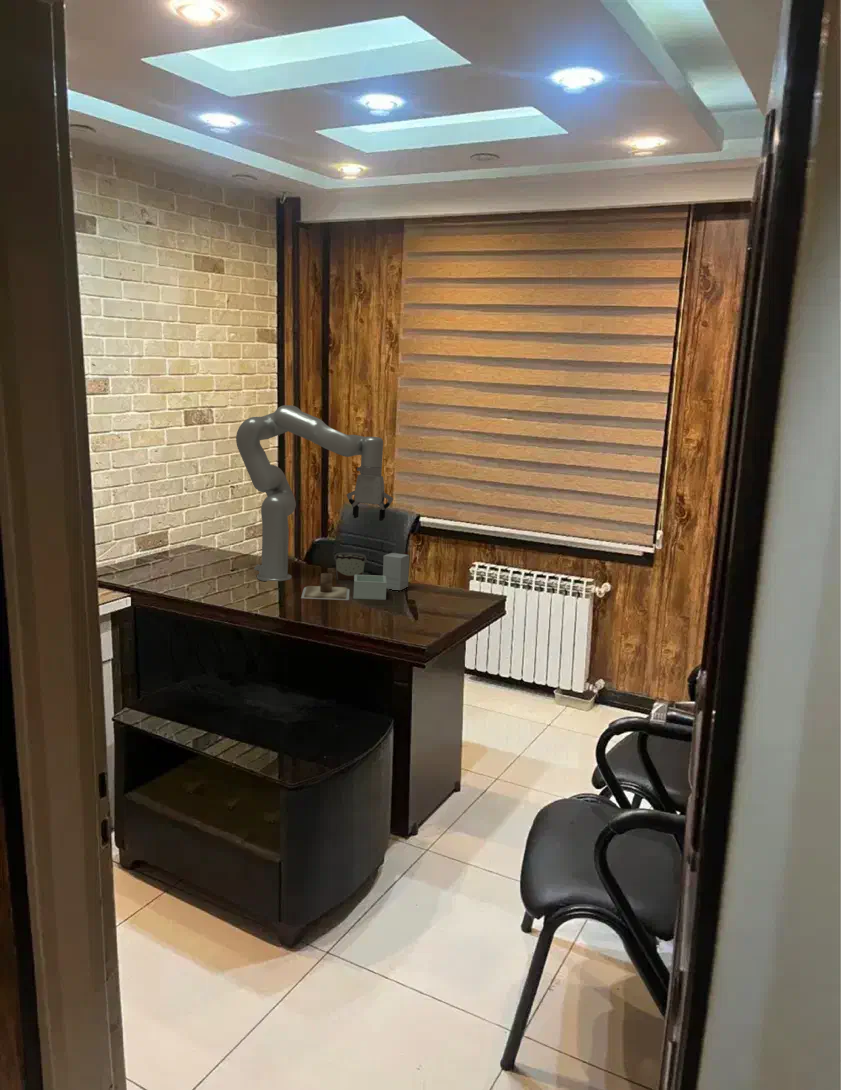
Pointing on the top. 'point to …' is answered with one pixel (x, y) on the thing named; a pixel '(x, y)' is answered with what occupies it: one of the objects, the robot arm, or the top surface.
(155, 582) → the top surface
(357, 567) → the grey half-round piece
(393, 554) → the supplement box
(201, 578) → the top surface
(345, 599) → the mat
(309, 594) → the lid
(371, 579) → the open square bin
